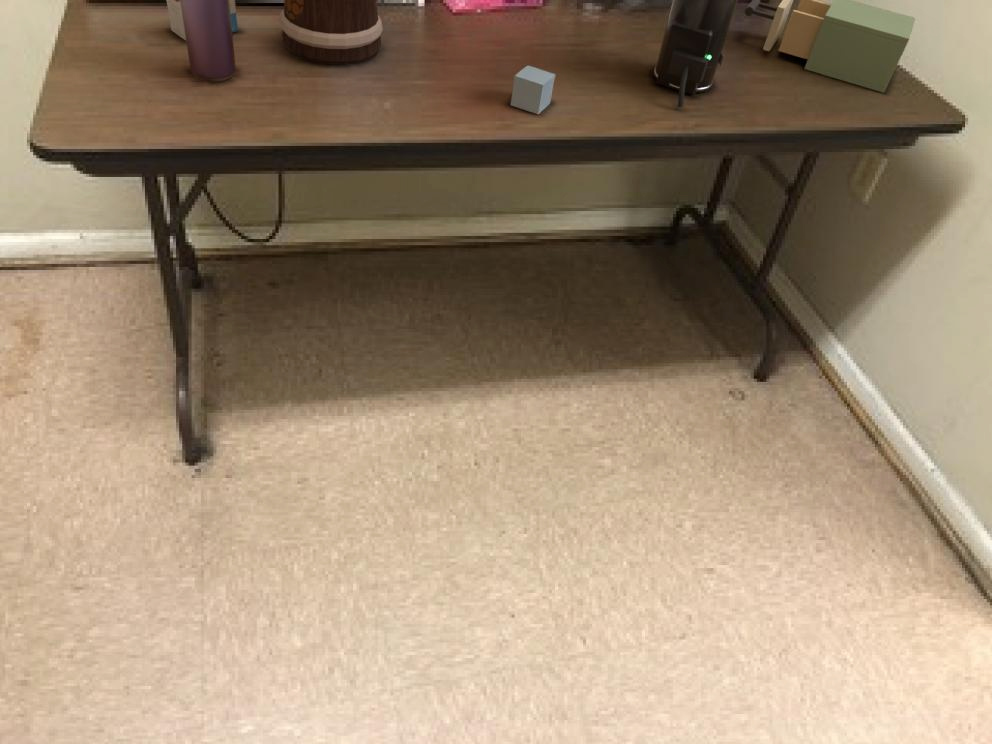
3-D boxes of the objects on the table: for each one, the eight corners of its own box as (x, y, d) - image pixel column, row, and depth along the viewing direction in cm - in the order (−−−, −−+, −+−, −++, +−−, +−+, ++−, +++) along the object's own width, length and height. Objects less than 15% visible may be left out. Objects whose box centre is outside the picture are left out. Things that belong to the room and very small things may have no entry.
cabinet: (804, 69, 140) (825, 15, 133) (815, 47, 148) (836, -5, 141) (883, 92, 136) (909, 38, 130) (891, 69, 144) (915, 17, 138)
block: (538, 114, 116) (543, 84, 113) (510, 105, 117) (514, 75, 114) (550, 103, 119) (555, 74, 116) (523, 94, 120) (527, 65, 117)
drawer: (732, 40, 143) (746, -3, 138) (746, 23, 150) (760, -19, 145) (834, 70, 138) (852, 27, 133) (843, 51, 145) (860, 9, 140)
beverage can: (224, 86, 110) (211, -31, 100) (182, 77, 111) (165, -40, 100) (243, 69, 115) (232, -45, 104) (203, 60, 115) (188, -54, 105)
